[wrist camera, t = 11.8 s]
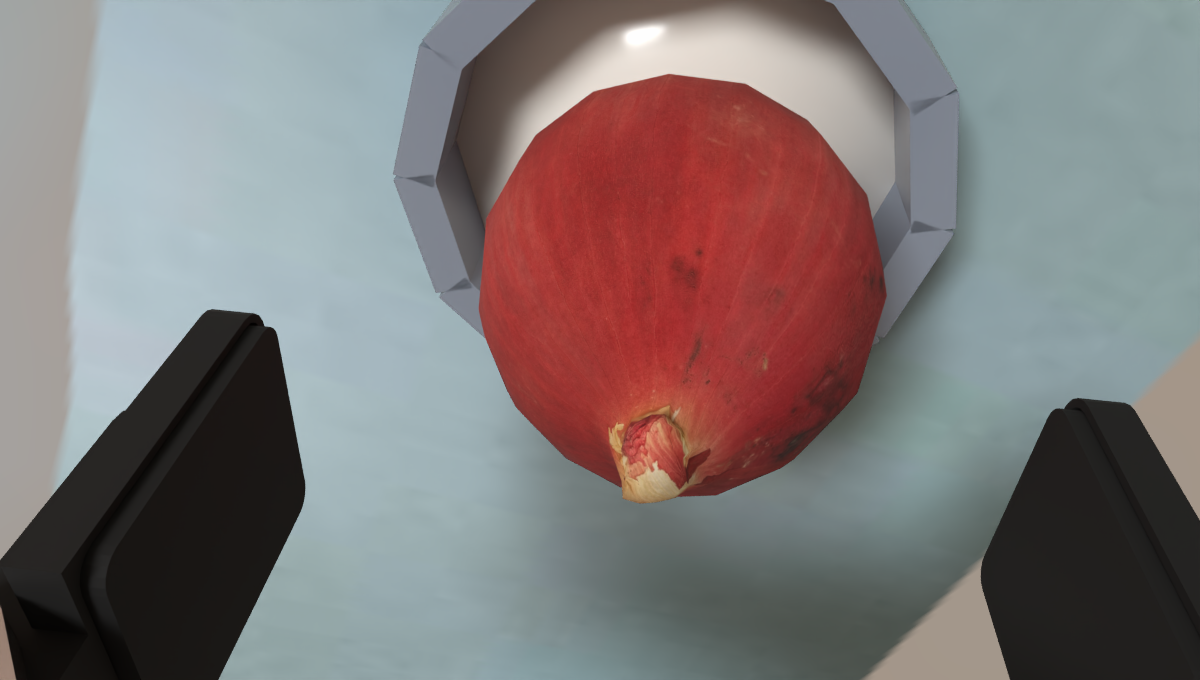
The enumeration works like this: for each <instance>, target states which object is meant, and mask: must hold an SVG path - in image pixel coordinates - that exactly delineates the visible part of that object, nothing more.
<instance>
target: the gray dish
mask: <svg viewBox="0 0 1200 680" xmlns="http://www.w3.org/2000/svg"><path fill="white" fill-rule="evenodd" d="M666 74H675V75H683V76H690V77H698V78H706V79H714V80H722V81H730V82H737V83H745V84H747V85H749V86H751V87H752V88H754V89H756V90H757V91H759V92H761V93H762V94H764V95H766V96H768V97H769V98H771V99H773V100H774V101H776V102H778V103H780V104H781V105H783V106H785V107H786V108H788V109H790V110H791V111H793V112H795V113H797V114H798V115H800V116H802V117H803V118H805V119H807V120H808V121H809V122H810V123H811V124H812V125H813V126H814V128H815V129H816V130H817V131H818V132H819V133H820V134H821V135H822V136H823V138H824V139H825V140H826V141H827V143H828V144H829V145H830V147H831V148H832V149H833V151H834V152H835V153H836V155H837V156H838V157H839V159H840V160H841V161H842V162H843V164H844V165H845V166H846V168H847V169H848V170H849V172H850V173H851V174H852V176H853V177H854V178H855V180H856V181H857V182H858V183H859V185H860V186H861V187H862V189H863V190H864V191H865V193H866V194H867V197H868V201H869V206H870V210H871V215H872V219H873V224H874V229H875V233H876V238H877V242H878V247H879V251H880V256H881V261H882V265H883V271H884V278H885V285H886V293H887V297H886V300H885V304H884V307H883V310H882V314H881V317H880V320H879V324H878V327H877V330H876V333H875V337H874V340H873V343H872V346H873V345H875V344H877V343H879V338H878V337H881V338H884V337H885V336H886V334H887V333H888V331H889V330H890V328H891V327H892V325H893V324H894V322H895V321H896V319H897V318H898V317H899V315H900V314H901V312H902V311H903V309H904V308H905V306H906V305H907V303H908V302H909V300H910V299H911V297H912V296H913V294H914V293H915V291H916V290H917V288H918V287H919V285H920V284H921V282H922V281H923V279H924V278H925V276H926V275H927V273H928V272H929V270H930V269H931V267H932V266H933V264H934V263H935V261H936V260H937V258H938V257H939V255H940V254H941V253H942V251H943V250H944V248H945V247H946V245H947V244H948V242H949V241H950V239H951V238H952V236H953V235H954V233H953V230H952V229H954V228H956V203H957V162H958V121H959V93H958V91H957V89H956V88H957V86H956V84H955V83H954V81H953V79H952V77H951V75H950V74H949V72H948V70H947V68H946V67H945V65H944V63H943V61H942V59H941V58H940V56H939V54H938V52H937V50H936V49H935V47H934V45H933V43H932V42H931V40H930V38H929V36H928V35H927V33H926V32H925V31H924V29H923V28H922V26H921V25H920V23H919V22H918V20H917V19H916V17H915V16H914V14H913V13H912V11H911V10H910V8H909V7H908V5H907V4H906V3H905V1H904V0H452V1H451V2H450V3H449V5H448V6H447V7H446V9H445V10H444V11H443V13H442V14H441V15H440V17H439V18H438V20H437V21H436V22H435V24H434V25H433V26H432V28H431V29H430V30H429V32H428V33H427V34H426V36H425V37H424V38H423V41H422V43H421V44H420V45H419V49H418V54H417V59H416V64H415V69H414V74H413V79H412V84H411V89H410V93H409V98H408V103H407V108H406V113H405V118H404V123H403V128H402V133H401V138H400V142H399V147H398V152H397V157H396V162H395V167H394V172H393V174H394V175H396V177H395V178H394V183H395V185H396V188H397V191H398V193H399V196H400V199H401V201H402V204H403V207H404V209H405V212H406V215H407V217H408V220H409V223H410V225H411V228H412V231H413V233H414V236H415V239H416V241H417V244H418V247H419V249H420V252H421V254H422V257H423V260H424V262H425V265H426V268H427V270H428V273H429V276H430V278H431V281H432V284H433V286H434V289H435V292H436V293H438V292H441V294H440V296H439V298H440V299H442V300H443V301H444V302H445V303H446V304H447V305H448V306H449V307H451V308H452V309H453V310H454V311H455V312H456V313H457V314H458V315H460V316H461V317H462V318H463V319H464V320H465V321H466V322H468V323H469V324H470V325H471V326H472V327H473V328H474V329H475V330H477V331H478V332H479V333H480V334H481V335H482V336H483V337H484V338H485V336H484V331H483V327H482V322H481V318H480V314H479V298H480V287H481V276H482V266H483V255H484V243H485V229H486V218H487V216H488V214H489V213H490V211H491V209H492V207H493V205H494V204H495V202H496V200H497V198H498V197H499V195H500V193H501V191H502V190H503V188H504V186H505V184H506V183H507V181H508V179H509V177H510V176H511V174H512V172H513V170H514V169H515V167H516V165H517V163H518V162H519V160H520V158H521V157H522V155H523V154H524V152H525V150H526V149H527V147H528V146H529V144H530V143H531V141H532V140H533V138H534V137H535V135H536V134H537V133H539V132H540V131H541V130H543V129H544V128H545V127H547V126H548V125H549V124H551V123H552V122H553V121H555V120H556V119H557V118H559V117H560V116H561V115H563V114H564V113H565V112H567V111H568V110H569V109H571V108H572V107H573V106H575V105H576V104H577V103H579V102H580V101H581V100H583V99H584V98H585V97H586V96H588V95H589V94H590V93H592V92H593V91H597V90H601V89H606V88H610V87H614V86H618V85H623V84H627V83H631V82H636V81H640V80H644V79H649V78H653V77H657V76H662V75H666Z"/></svg>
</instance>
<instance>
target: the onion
mask: <svg viewBox="0 0 1200 680" xmlns="http://www.w3.org/2000/svg"><path fill="white" fill-rule="evenodd" d="M886 297H887V293H886V285H885V278H884V271H883V265H882V261H881V256H880V251H879V247H878V242H877V238H876V233H875V229H874V224H873V219H872V215H871V210H870V206H869V201H868V197H867V194H866V193H865V191H864V190H863V189H862V187H861V186H860V185H859V183H858V182H857V181H856V180H855V178H854V177H853V176H852V174H851V173H850V172H849V170H848V169H847V168H846V166H845V165H844V164H843V162H842V161H841V160H840V159H839V157H838V156H837V155H836V153H835V152H834V151H833V149H832V148H831V147H830V145H829V144H828V143H827V141H826V140H825V139H824V138H823V136H822V135H821V134H820V133H819V132H818V131H817V130H816V129H815V128H814V126H813V125H812V124H811V123H810V122H809V121H808V120H807V119H805V118H803V117H802V116H800V115H798V114H797V113H795V112H793V111H791V110H790V109H788V108H786V107H785V106H783V105H781V104H780V103H778V102H776V101H774V100H773V99H771V98H769V97H768V96H766V95H764V94H762V93H761V92H759V91H757V90H756V89H754V88H752V87H751V86H749V85H747V84H745V83H737V82H730V81H722V80H714V79H706V78H698V77H690V76H683V75H675V74H666V75H662V76H657V77H653V78H649V79H644V80H640V81H636V82H631V83H627V84H623V85H618V86H614V87H610V88H606V89H601V90H597V91H593V92H592V93H590V94H589V95H588V96H586V97H585V98H584V99H583V100H581V101H580V102H579V103H577V104H576V105H575V106H573V107H572V108H571V109H569V110H568V111H567V112H565V113H564V114H563V115H561V116H560V117H559V118H557V119H556V120H555V121H553V122H552V123H551V124H549V125H548V126H547V127H545V128H544V129H543V130H541V131H540V132H539V133H537V134H536V135H535V137H534V138H533V140H532V141H531V143H530V144H529V146H528V147H527V149H526V150H525V152H524V154H523V155H522V157H521V158H520V160H519V162H518V163H517V165H516V167H515V169H514V170H513V172H512V174H511V176H510V177H509V179H508V181H507V183H506V184H505V186H504V188H503V190H502V191H501V193H500V195H499V197H498V198H497V200H496V202H495V204H494V205H493V207H492V209H491V211H490V213H489V214H488V216H487V218H486V229H485V243H484V255H483V266H482V276H481V287H480V298H479V314H480V318H481V322H482V327H483V331H484V336H485V338H486V341H487V343H488V345H489V348H490V350H491V353H492V355H493V358H494V360H495V362H496V365H497V367H498V370H499V372H500V375H501V377H502V379H503V382H504V384H505V387H506V389H507V391H508V393H509V395H510V397H511V399H512V401H513V402H514V404H515V406H516V408H517V409H518V410H519V411H520V412H521V413H522V414H523V415H524V416H525V417H526V418H527V419H528V420H529V421H530V422H531V423H532V424H533V425H534V426H535V427H536V428H537V429H538V430H539V431H540V432H541V433H542V434H543V435H544V436H545V437H546V438H547V439H548V440H549V442H550V443H551V444H552V445H553V446H554V447H555V448H556V449H557V450H558V451H559V452H560V453H561V454H562V455H563V456H564V457H565V458H566V459H568V460H570V461H572V462H574V463H576V464H578V465H580V466H582V467H584V468H585V469H587V470H589V471H591V472H593V473H595V474H597V475H599V476H601V477H602V478H604V479H606V480H608V481H610V482H612V483H613V484H615V485H617V486H619V487H622V493H623V499H626V500H629V501H633V502H636V503H653V502H660V501H664V500H669V499H672V498H676V497H682V496H710V495H718V494H720V493H723V492H725V491H727V490H730V489H732V488H734V487H737V486H739V485H742V484H744V483H746V482H749V481H751V480H754V479H756V478H758V477H761V476H763V475H766V474H768V473H770V472H773V471H775V470H777V469H780V468H782V467H783V466H785V465H786V464H787V463H789V462H790V461H792V460H793V459H795V457H796V456H797V455H798V454H799V453H800V452H801V451H802V450H803V449H804V448H805V447H806V446H807V445H808V444H809V443H810V442H811V441H812V440H813V439H814V438H815V437H816V436H817V435H818V434H819V433H820V432H821V431H822V430H823V429H824V428H825V427H826V426H827V425H828V424H829V423H830V422H831V421H832V420H833V419H834V418H835V417H836V416H837V415H838V414H839V413H840V412H841V411H842V410H843V409H844V408H845V406H846V405H847V404H848V403H849V402H850V401H851V399H852V398H853V397H854V396H855V395H856V394H857V392H858V389H859V386H860V382H861V379H862V376H863V373H864V370H865V366H866V363H867V360H868V357H869V353H870V350H871V347H872V343H873V340H874V337H875V333H876V330H877V327H878V324H879V320H880V317H881V314H882V310H883V307H884V304H885V300H886Z"/></svg>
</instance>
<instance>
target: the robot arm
mask: <svg viewBox="0 0 1200 680" xmlns="http://www.w3.org/2000/svg"><path fill="white" fill-rule="evenodd" d="M304 497H305V480H304V474H303V469H302V464H301V458H300V453H299V448H298V443H297V437H296V432H295V427H294V421H293V416H292V411H291V405H290V400H289V395H288V389H287V384H286V379H285V374H284V368H283V363H282V358H281V352H280V347H279V342H278V337H277V334H276V331H275V330H274V328H271V327H265V326H264V324H263V321H262V319H261V318H260V316H259V315H257V314H253V313H244V312H234V311H224V310H214V309H211V310H207V311H206V312H205V313H204V314H203V315H202V316H201V317H200V318H199V319H198V321H197V322H196V323H195V324H194V326H193V327H192V328H191V329H190V331H189V332H188V333H187V334H186V336H185V337H184V338H183V339H182V341H181V342H180V343H179V344H178V346H177V347H176V348H175V349H174V351H173V352H172V353H171V354H170V356H169V357H168V358H167V359H166V361H165V362H164V363H163V364H162V366H161V367H160V368H159V369H158V371H157V372H156V373H155V374H154V376H153V377H152V378H151V379H150V381H149V382H148V383H147V384H146V386H145V387H144V388H143V389H142V391H141V392H140V393H139V394H138V396H137V397H136V398H135V399H134V401H133V402H132V403H131V404H130V406H129V407H128V408H127V409H126V410H125V411H123V412H121V413H120V414H119V415H118V416H117V417H116V418H115V419H114V420H113V421H112V422H111V423H110V425H109V426H108V427H107V428H106V430H105V431H104V432H103V433H102V435H101V436H100V437H99V438H98V440H97V441H96V442H95V443H94V445H93V446H92V447H91V448H90V450H89V451H88V452H87V453H86V455H85V456H84V457H83V458H82V459H81V461H80V462H79V463H78V464H77V466H76V467H75V468H74V469H73V471H72V472H71V473H70V474H69V476H68V477H67V478H66V479H65V481H64V482H63V483H62V484H61V486H60V487H59V488H58V489H57V490H56V492H55V493H54V494H53V495H52V497H51V498H50V499H49V500H48V502H47V503H46V504H45V506H44V507H43V508H42V509H41V510H40V512H39V513H38V514H37V515H36V517H35V518H34V519H33V520H32V522H31V523H30V524H29V525H28V527H27V528H26V529H25V530H24V532H23V533H22V534H21V535H20V537H19V538H18V539H17V540H16V541H15V543H14V544H13V545H12V546H11V548H10V549H9V550H8V551H7V553H6V554H5V555H4V556H3V558H2V559H1V560H0V680H218V679H219V677H220V675H221V673H222V671H223V669H224V667H225V665H226V663H227V661H228V659H229V657H230V655H231V653H232V651H233V649H234V647H235V645H236V643H237V641H238V638H239V636H240V634H241V632H242V630H243V628H244V626H245V624H246V622H247V620H248V618H249V616H250V614H251V612H252V610H253V608H254V606H255V604H256V602H257V600H258V598H259V596H260V594H261V592H262V590H263V587H264V585H265V583H266V581H267V579H268V577H269V575H270V573H271V571H272V569H273V567H274V565H275V563H276V561H277V559H278V557H279V555H280V553H281V551H282V549H283V547H284V545H285V543H286V541H287V539H288V536H289V534H290V532H291V530H292V528H293V526H294V524H295V522H296V520H297V518H298V516H299V514H300V512H301V509H302V506H303V502H304ZM981 584H982V589H983V592H984V596H985V599H986V602H987V605H988V609H989V612H990V615H991V618H992V622H993V625H994V628H995V632H996V635H997V638H998V642H999V645H1000V648H1001V651H1002V655H1003V658H1004V661H1005V664H1006V668H1007V671H1008V674H1009V677H1010V680H1200V520H1199V518H1198V517H1197V515H1196V513H1195V512H1194V510H1193V508H1192V507H1191V505H1190V503H1189V501H1188V500H1187V498H1186V496H1185V495H1184V493H1183V491H1182V490H1181V488H1180V486H1179V484H1178V483H1177V481H1176V479H1175V478H1174V476H1173V474H1172V473H1171V471H1170V469H1169V468H1168V466H1167V464H1166V463H1165V461H1164V459H1163V457H1162V456H1161V454H1160V452H1159V450H1158V449H1157V447H1156V445H1155V444H1154V442H1153V440H1152V439H1151V437H1150V435H1149V434H1148V432H1147V430H1146V429H1145V427H1144V425H1143V423H1142V422H1141V420H1140V418H1139V417H1138V415H1137V413H1136V411H1135V410H1134V409H1133V408H1132V407H1131V406H1130V405H1128V404H1126V403H1121V402H1111V401H1101V400H1091V399H1082V398H1077V399H1072V400H1071V401H1070V402H1069V403H1068V404H1067V405H1066V407H1065V409H1055V410H1053V411H1052V412H1051V413H1050V415H1049V417H1048V419H1047V421H1046V423H1045V425H1044V427H1043V429H1042V432H1041V434H1040V436H1039V438H1038V440H1037V442H1036V445H1035V447H1034V449H1033V451H1032V453H1031V456H1030V458H1029V460H1028V462H1027V464H1026V466H1025V469H1024V471H1023V473H1022V475H1021V477H1020V479H1019V482H1018V484H1017V486H1016V488H1015V490H1014V493H1013V495H1012V497H1011V499H1010V501H1009V503H1008V506H1007V508H1006V510H1005V512H1004V514H1003V516H1002V519H1001V521H1000V523H999V525H998V527H997V530H996V532H995V534H994V536H993V538H992V540H991V543H990V545H989V547H988V549H987V551H986V553H985V556H984V558H983V561H982V567H981Z"/></svg>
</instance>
